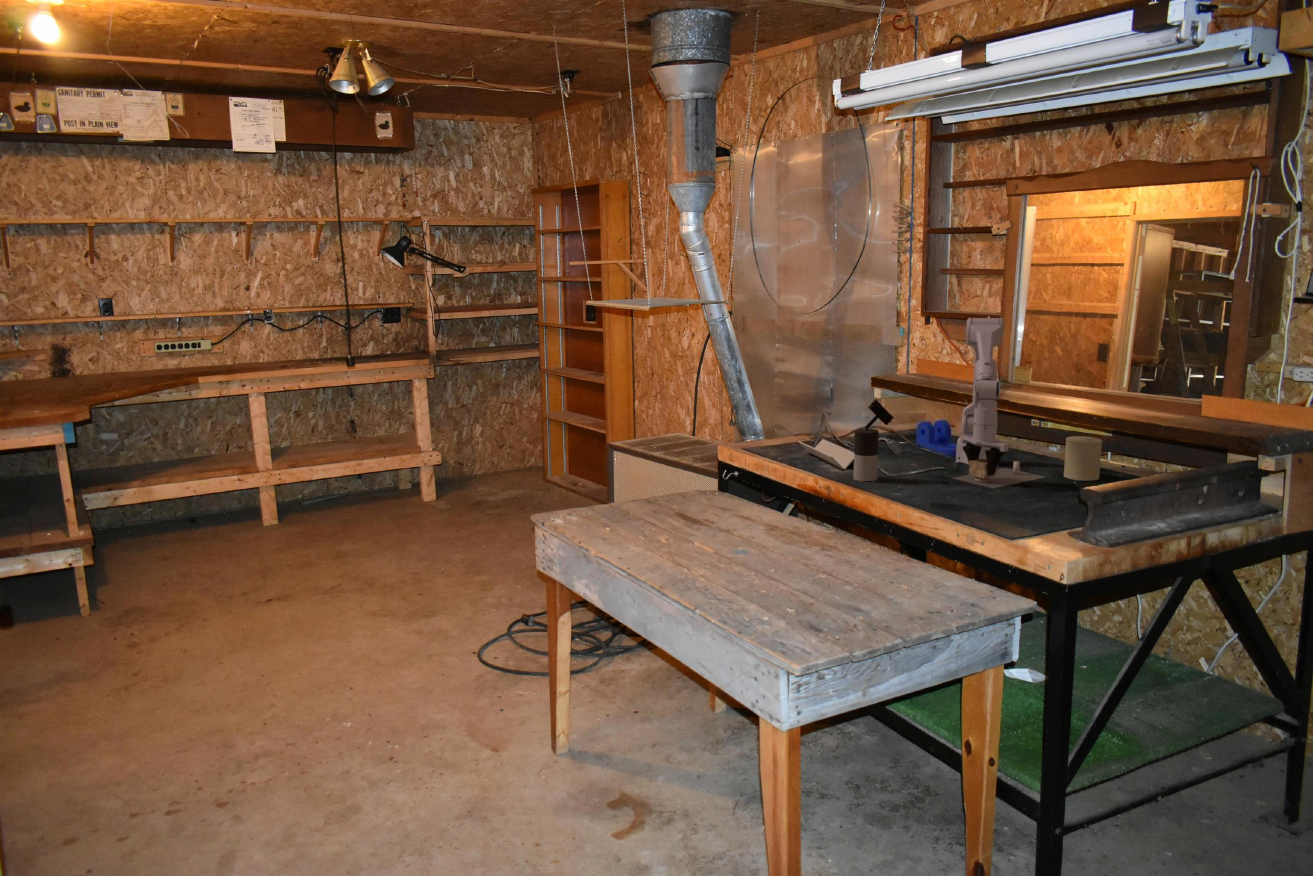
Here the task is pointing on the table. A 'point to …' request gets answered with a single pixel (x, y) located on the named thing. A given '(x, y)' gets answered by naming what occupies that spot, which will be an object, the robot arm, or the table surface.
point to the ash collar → (980, 468)
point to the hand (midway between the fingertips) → (982, 473)
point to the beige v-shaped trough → (831, 453)
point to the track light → (869, 445)
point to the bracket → (936, 437)
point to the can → (1082, 458)
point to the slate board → (1000, 478)
